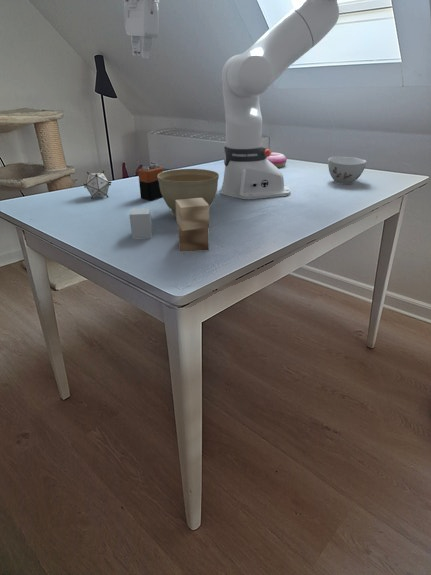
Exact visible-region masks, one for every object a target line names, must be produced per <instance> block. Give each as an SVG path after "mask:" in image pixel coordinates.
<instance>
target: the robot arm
mask: <svg viewBox="0 0 431 575" xmlns="http://www.w3.org/2000/svg"><path fill="white" fill-rule="evenodd" d="M121 1H122V2H124V3H123V16H124V17H123V18H124V28H125V33H126V35H127V36H130V42H131V47H132V56H133V57H141V58H142V59H146V60H148V59H150V57H151V56H150V53H151V49H152V48H151V47H152V45H153V44H152V43H153V39H157V38H158V36H159V31H160V30H159V28H160V26H159V23H160V22H159V16H160V14H159V4H160V0H121ZM339 16H340V9H339V4H338V0H302V1H301V2H300V3H299V4H298V5H296V6H295V7H294V8H293V9H291V10H290V11H289V12H288V13H287V14H285V15H284V16H283V17H282V18H280V20H278V21H277V22H276V23H275V24H274V25H272V26H271V27H269V29H267V30H266V32H264V34H263V35H261V36H260V38H258V39H257V41H255V43H253V44H252V45H251V46H250V47H249V48H248V49H247V50H245V51H244V52H242V53H240V54H234V55H233V56H231V57H230V58H228V59H227V60H226V61H225V63H224V65H223V67H222V71H221V82H222V95H223V97H222V98H223V107H224V113H225V146H224V149H223V163H224V174H223V181H222V186H221V189H220V192H221V194H222V195H225V196H228V197H233V198H234V197H235V198H238V199H242V200H253V199H255V200H256V199H257V200H258V199H265V198H277V197H278V198H279V197H284V196H285V197H286V196H289V195H290V194H291V189H290V187H289V186H288V185H287V184H285V181H284V175H283V173H282V171H281V170H280V169H279V168H277V167H276V166H275V165H273V164H272V163H271V162H270V161H269V160H267V159H266V158H267V157H269V156H270V155H271V152H272V151H271V149H269V148H266V147H264V146H263V145H262V142H263V141H262V140H263V139H262V137H263V136H262V135H263V116H262V113H261V112H262V111H261V106H260V105H261V104H260V95H262V94H263V93H265V92H266V91H267V90H268V89H269V87H270V86H272V84H274V83H275V81H277V80H278V78H280V77H281V76H282V75H283V73H284V72H285V71H287V69H288V68H289V67H290V66H292V65H293V64H294V63H295V62H297V60H299V59H300V58H302V56H303V57H304V55H305V54H306V53H308V52H309V51H310V50H312V48H314V47H315V46H317V44H319V43H320V42H321V41H322V40H323V39H324V38H325V37H326V36H327V35H328V34H329V33H330V31H331V30H332V29H334V27H335V26H336V25H337V22H338V20H339ZM140 42H142V48H140V46H141V45H140Z"/></svg>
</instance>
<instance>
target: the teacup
mask: <svg viewBox="0 0 431 575" xmlns="http://www.w3.org/2000/svg"><path fill="white" fill-rule="evenodd" d="M327 160H328V161H327V166H328V172H329V175H330V176H331V178H332V180H333V181H334V183H335V184H338V185H345V186H348V185H352V184H353V183H354V182H355V181H357V180H358V179H359V178H360V176H361V175H362V174H363V172H364V170H365V167H366V164H367V160H366V159H361V158H358V157H354V156H353V157H350V156H349V157H348V156H330V157H329V158H328V159H327Z"/></svg>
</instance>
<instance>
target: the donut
mask: <svg viewBox="0 0 431 575" xmlns="http://www.w3.org/2000/svg"><path fill="white" fill-rule="evenodd" d="M266 159H267V160H269V161H270V162H271V163H272V164H273V165H275V166H276V167H277V168H278V169H279V168H282V167H284V166H285V165H286V164H287V156H285V154H283V153H280V152H272V151H271V155H270V156H269V157H267V158H266Z"/></svg>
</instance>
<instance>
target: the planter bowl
mask: <svg viewBox="0 0 431 575" xmlns="http://www.w3.org/2000/svg"><path fill="white" fill-rule="evenodd" d="M157 177H158V181H159V186H160V191H161V194H162V197H161V198H162V199H163V201H164V203H165V204H166V206H167V207H168V208H169V209H170V210H171V214H172V216H174V217H175V218H176V202H175V200H181V199H192V198H203V199H204V200H205V201H206V202H207V203H208V205H209V208H210V207H211V205H212V204H213V202H214V199H215V197H216V195H217V192H218V184H219V178H220V175H219V173H218V172H216V171H215V170H214V171H213V170H211V169H210V170H209V169H205V168H204V169H203V168H179V169H169V170H165V171H163V172H162V173H159V174H158V176H157Z"/></svg>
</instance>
